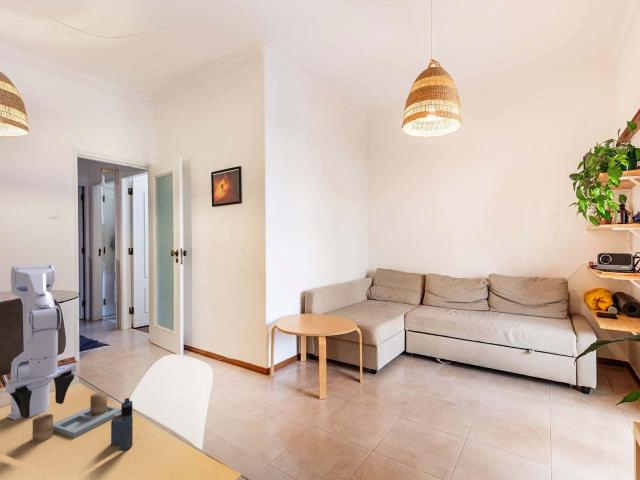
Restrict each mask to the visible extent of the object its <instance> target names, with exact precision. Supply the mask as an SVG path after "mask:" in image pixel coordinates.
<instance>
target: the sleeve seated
mask: <svg viewBox="0 0 640 480" xmlns="http://www.w3.org/2000/svg"><path fill="white" fill-rule="evenodd" d="M89 401H90V404H89V407H90V417H93V418H97V417H99V416H101V415H103V414H105V413H107V412H108V410H107V405H108V392H107V391H98V392H95V393H93V394H91V395H90V399H89Z"/></svg>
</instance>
